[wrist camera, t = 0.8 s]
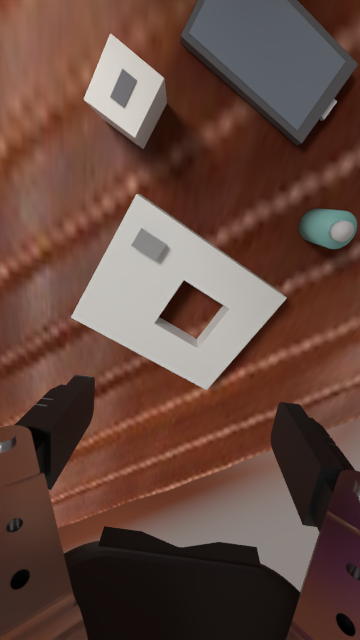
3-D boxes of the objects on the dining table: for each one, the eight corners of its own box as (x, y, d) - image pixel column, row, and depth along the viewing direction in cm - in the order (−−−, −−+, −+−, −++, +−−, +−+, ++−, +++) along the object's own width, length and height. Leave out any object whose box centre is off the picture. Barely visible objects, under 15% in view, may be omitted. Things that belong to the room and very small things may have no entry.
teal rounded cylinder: (292, 229, 30) (316, 237, 25) (314, 201, 29) (345, 203, 24) (314, 247, 31) (342, 258, 26) (336, 220, 30) (371, 226, 25)
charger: (103, 119, 26) (83, 99, 21) (125, 69, 25) (110, 32, 19) (143, 149, 27) (134, 137, 22) (167, 103, 26) (164, 77, 20)
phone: (180, 43, 24) (180, 35, 23) (229, -56, 21) (231, -70, 20) (300, 148, 27) (305, 146, 26) (354, 74, 25) (362, 68, 24)
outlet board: (78, 309, 34) (68, 320, 31) (139, 194, 29) (135, 193, 26) (205, 378, 39) (207, 393, 36) (279, 291, 33) (289, 300, 30)
